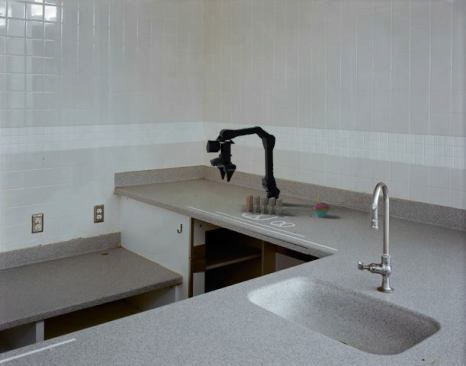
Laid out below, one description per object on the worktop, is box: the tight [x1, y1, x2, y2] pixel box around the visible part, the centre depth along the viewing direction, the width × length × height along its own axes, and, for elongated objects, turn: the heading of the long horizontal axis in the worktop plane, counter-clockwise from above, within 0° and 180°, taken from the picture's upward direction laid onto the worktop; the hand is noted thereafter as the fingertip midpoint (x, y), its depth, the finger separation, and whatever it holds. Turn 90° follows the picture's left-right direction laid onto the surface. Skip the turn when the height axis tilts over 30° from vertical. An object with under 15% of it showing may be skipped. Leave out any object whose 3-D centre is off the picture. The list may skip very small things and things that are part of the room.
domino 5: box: [275, 197, 284, 215], centre depth 286 cm, size 2×5×8 cm, turn 154°
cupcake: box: [312, 194, 331, 218], centre depth 284 cm, size 9×8×12 cm
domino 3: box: [260, 196, 269, 215], centre depth 290 cm, size 2×5×8 cm, turn 154°
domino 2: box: [252, 195, 261, 214], centre depth 292 cm, size 2×5×8 cm, turn 154°
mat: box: [239, 208, 290, 218], centre depth 291 cm, size 25×9×1 cm, turn 64°
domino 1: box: [245, 194, 254, 212], centre depth 294 cm, size 2×5×8 cm, turn 154°
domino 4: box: [267, 197, 276, 214], centre depth 288 cm, size 2×5×8 cm, turn 154°
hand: (225, 180), depth 303 cm, fingers open, 9 cm apart
